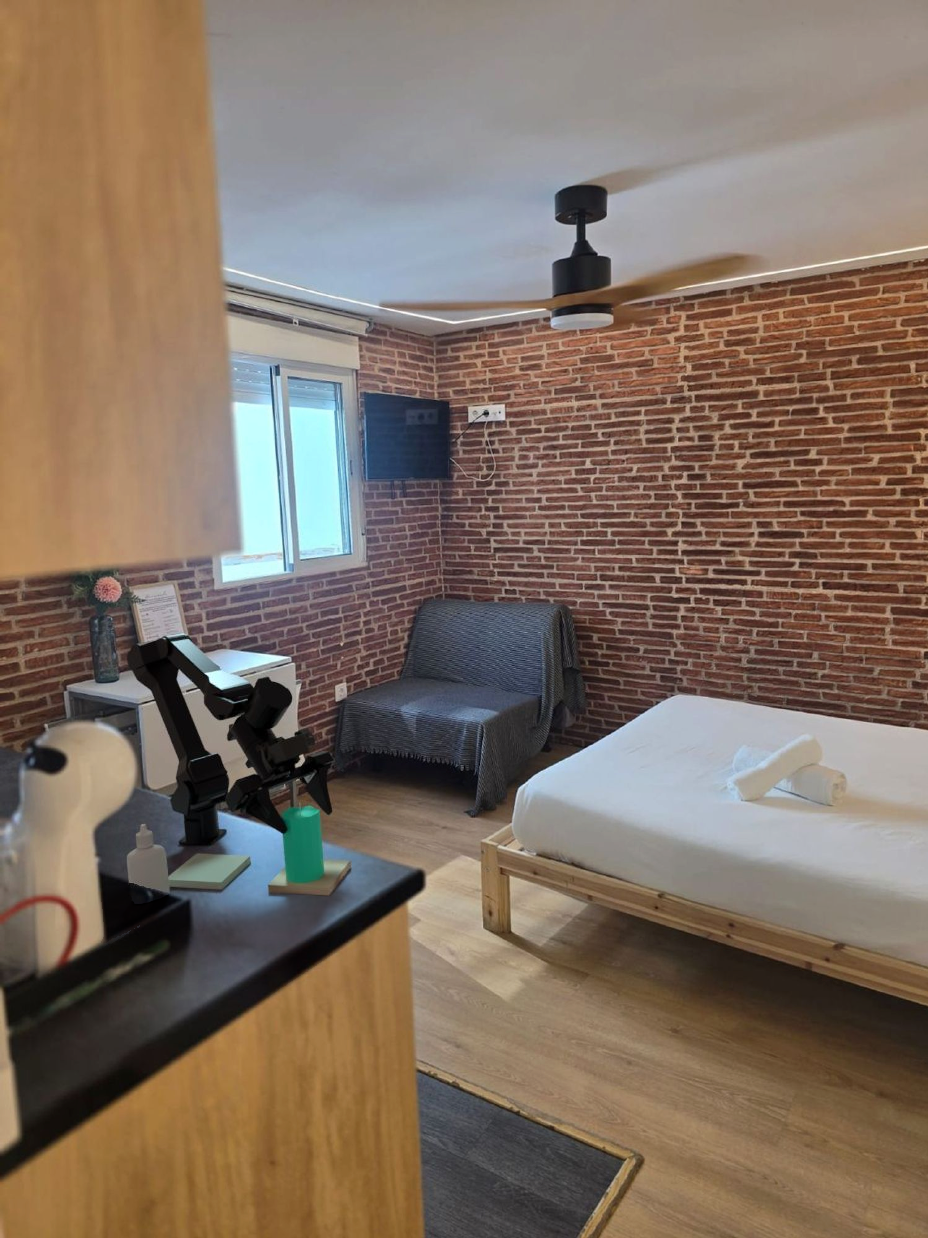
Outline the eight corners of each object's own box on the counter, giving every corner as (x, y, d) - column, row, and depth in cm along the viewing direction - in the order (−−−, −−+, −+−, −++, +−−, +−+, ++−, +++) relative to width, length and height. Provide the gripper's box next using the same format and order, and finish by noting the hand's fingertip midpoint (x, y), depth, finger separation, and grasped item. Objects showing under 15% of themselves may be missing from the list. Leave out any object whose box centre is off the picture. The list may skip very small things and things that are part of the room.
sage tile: (197, 860, 142) (196, 853, 142) (250, 862, 140) (250, 856, 139) (165, 886, 132) (164, 879, 132) (221, 889, 130) (221, 882, 130)
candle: (324, 880, 129) (319, 807, 127) (285, 885, 128) (279, 811, 126) (323, 864, 135) (318, 794, 133) (286, 869, 133) (280, 798, 132)
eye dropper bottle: (136, 893, 130) (128, 821, 128) (172, 890, 131) (165, 818, 129) (128, 906, 126) (119, 831, 124) (165, 903, 126) (157, 828, 125)
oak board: (294, 864, 138) (294, 858, 138) (350, 867, 136) (350, 860, 136) (268, 892, 128) (268, 885, 128) (328, 895, 126) (328, 888, 126)
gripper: (230, 729, 124) (281, 814, 119) (323, 703, 139) (373, 778, 133) (205, 771, 130) (252, 853, 125) (297, 742, 145) (343, 814, 139)
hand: (308, 822), depth 130 cm, fingers open, 9 cm apart
